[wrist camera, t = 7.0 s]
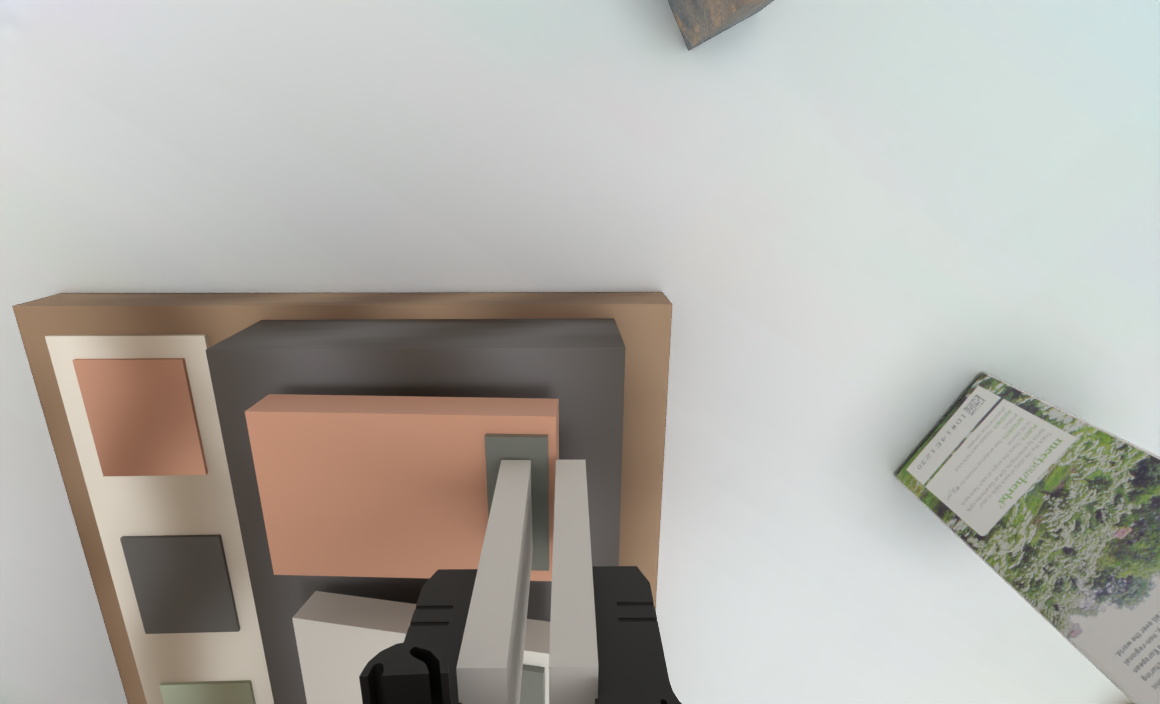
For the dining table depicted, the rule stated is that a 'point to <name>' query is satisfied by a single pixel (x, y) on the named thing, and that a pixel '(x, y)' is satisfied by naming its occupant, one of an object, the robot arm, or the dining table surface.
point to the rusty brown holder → (711, 16)
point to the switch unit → (308, 367)
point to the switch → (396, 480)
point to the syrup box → (1055, 521)
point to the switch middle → (381, 646)
